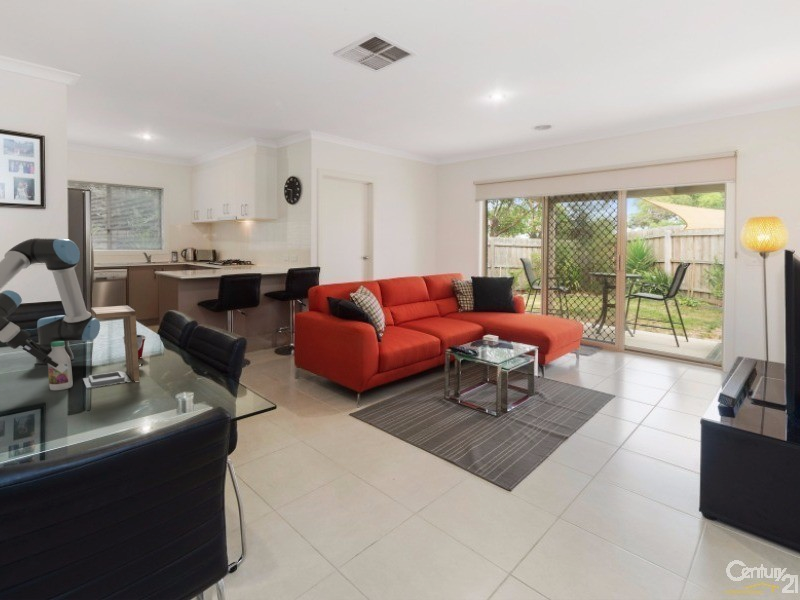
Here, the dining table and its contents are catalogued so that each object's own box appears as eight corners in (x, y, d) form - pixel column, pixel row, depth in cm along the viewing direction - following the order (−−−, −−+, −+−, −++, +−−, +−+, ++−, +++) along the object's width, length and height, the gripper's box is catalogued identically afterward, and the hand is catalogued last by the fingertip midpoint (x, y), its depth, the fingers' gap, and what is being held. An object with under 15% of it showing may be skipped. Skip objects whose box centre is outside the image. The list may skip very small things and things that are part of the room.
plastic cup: (136, 361, 224) (135, 339, 222) (118, 360, 226) (117, 337, 224) (152, 356, 234) (151, 334, 233) (135, 355, 236) (134, 333, 235)
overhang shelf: (96, 376, 198) (91, 307, 194) (131, 371, 207) (127, 305, 203) (101, 388, 183) (96, 313, 179) (139, 381, 192) (135, 310, 188)
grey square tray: (83, 379, 193) (82, 375, 193) (124, 373, 204) (124, 369, 204) (86, 389, 181) (86, 384, 181) (130, 381, 192) (130, 377, 192)
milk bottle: (58, 385, 186) (54, 339, 183) (77, 384, 186) (73, 339, 184) (45, 391, 178) (41, 343, 176) (64, 390, 179) (61, 343, 176)
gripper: (5, 337, 178) (55, 366, 190) (3, 349, 159) (57, 381, 171) (21, 323, 181) (69, 353, 193) (20, 333, 162) (73, 366, 174)
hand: (64, 366), depth 182 cm, fingers open, 13 cm apart
